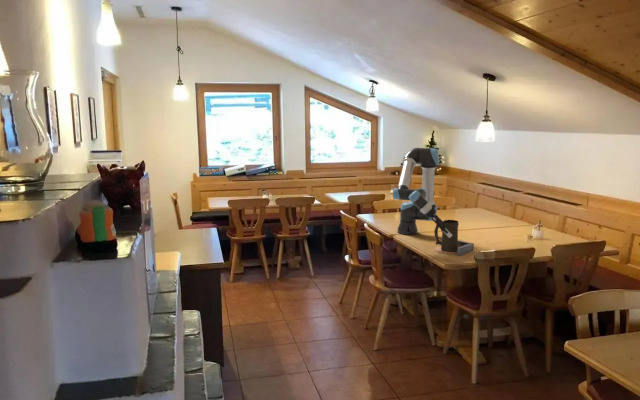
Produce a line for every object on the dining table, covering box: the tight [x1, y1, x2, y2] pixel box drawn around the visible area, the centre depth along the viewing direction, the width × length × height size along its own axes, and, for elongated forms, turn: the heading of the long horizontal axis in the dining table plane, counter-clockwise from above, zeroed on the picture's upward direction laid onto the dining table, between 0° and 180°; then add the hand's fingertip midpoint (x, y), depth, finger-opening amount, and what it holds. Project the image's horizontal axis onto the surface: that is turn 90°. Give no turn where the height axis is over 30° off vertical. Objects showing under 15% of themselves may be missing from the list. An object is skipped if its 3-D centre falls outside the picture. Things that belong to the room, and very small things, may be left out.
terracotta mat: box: [433, 246, 457, 255], centre depth 334 cm, size 16×16×1 cm
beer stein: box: [433, 219, 459, 252], centre depth 332 cm, size 15×11×20 cm
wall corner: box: [456, 240, 475, 257], centre depth 335 cm, size 18×21×5 cm
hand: (450, 234), depth 332 cm, fingers open, 13 cm apart
